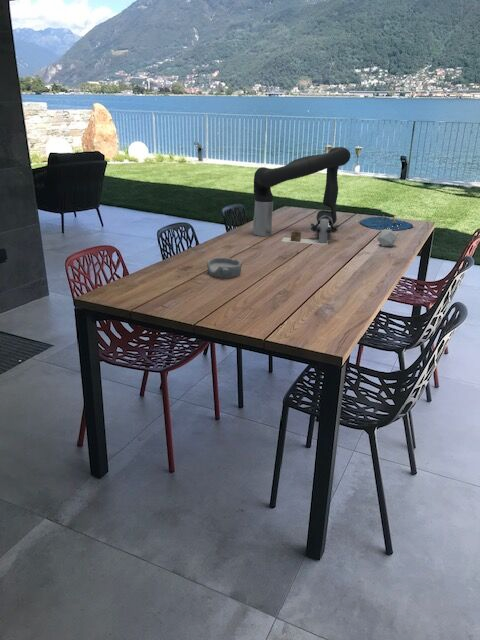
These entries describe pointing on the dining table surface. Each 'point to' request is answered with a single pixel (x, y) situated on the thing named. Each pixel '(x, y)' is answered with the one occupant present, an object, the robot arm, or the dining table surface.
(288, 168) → the robot arm
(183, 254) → the dining table surface
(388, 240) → the die
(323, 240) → the grey post on base
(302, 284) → the dining table surface
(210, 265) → the dish
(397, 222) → the decorative plate
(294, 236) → the walnut block
